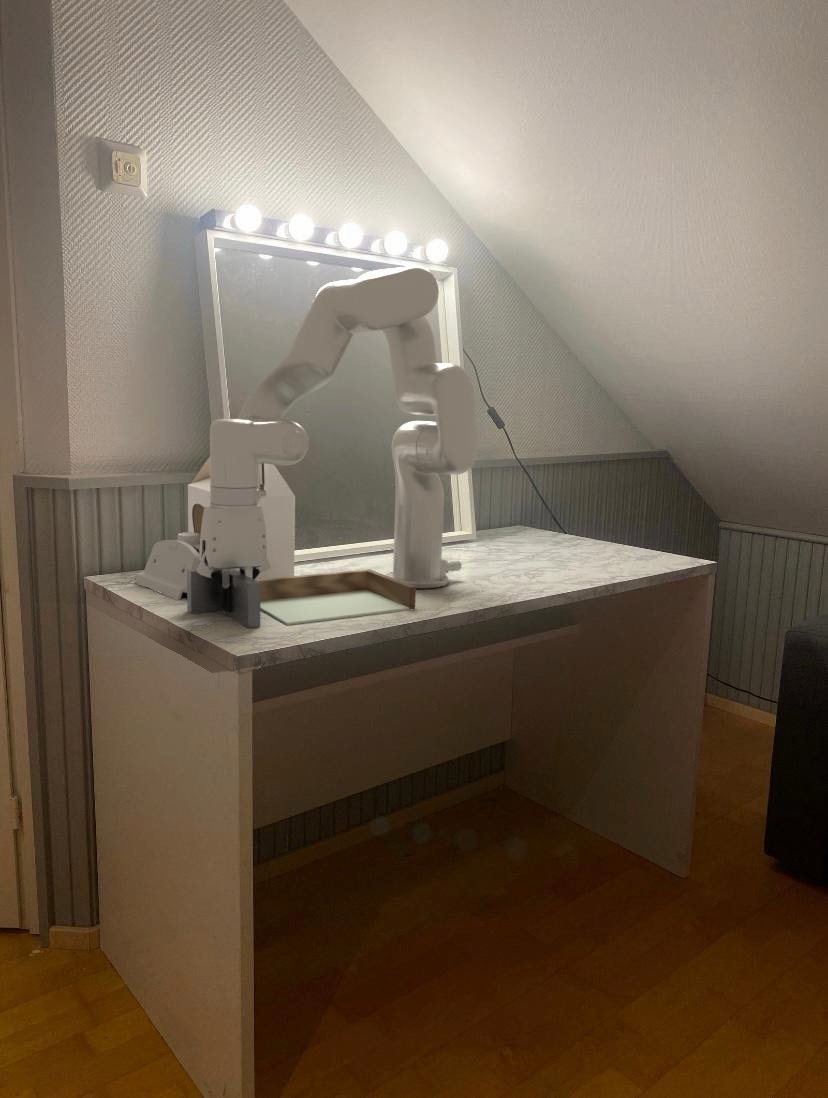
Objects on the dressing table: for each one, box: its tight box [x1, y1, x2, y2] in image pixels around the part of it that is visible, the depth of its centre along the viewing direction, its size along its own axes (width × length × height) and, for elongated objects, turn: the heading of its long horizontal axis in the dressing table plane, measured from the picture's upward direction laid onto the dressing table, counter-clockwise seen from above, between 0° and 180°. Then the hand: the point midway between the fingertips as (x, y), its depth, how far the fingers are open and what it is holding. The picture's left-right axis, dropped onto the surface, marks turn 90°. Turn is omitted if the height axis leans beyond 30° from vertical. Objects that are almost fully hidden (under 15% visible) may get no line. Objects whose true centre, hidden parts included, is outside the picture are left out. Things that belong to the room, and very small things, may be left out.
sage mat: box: [260, 590, 410, 626], centre depth 144 cm, size 23×15×1 cm, turn 123°
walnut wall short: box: [367, 570, 417, 611], centre depth 150 cm, size 1×15×4 cm, turn 33°
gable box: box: [187, 455, 296, 580], centre depth 162 cm, size 22×13×28 cm, turn 34°
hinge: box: [134, 539, 210, 601], centre depth 153 cm, size 17×5×10 cm, turn 44°
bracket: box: [186, 568, 261, 629], centre depth 134 cm, size 7×14×7 cm, turn 33°
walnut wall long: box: [256, 568, 374, 601], centre depth 151 cm, size 24×1×4 cm, turn 123°
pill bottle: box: [177, 531, 200, 549], centre depth 161 cm, size 5×5×9 cm
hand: (234, 608), depth 137 cm, fingers closed on bracket
